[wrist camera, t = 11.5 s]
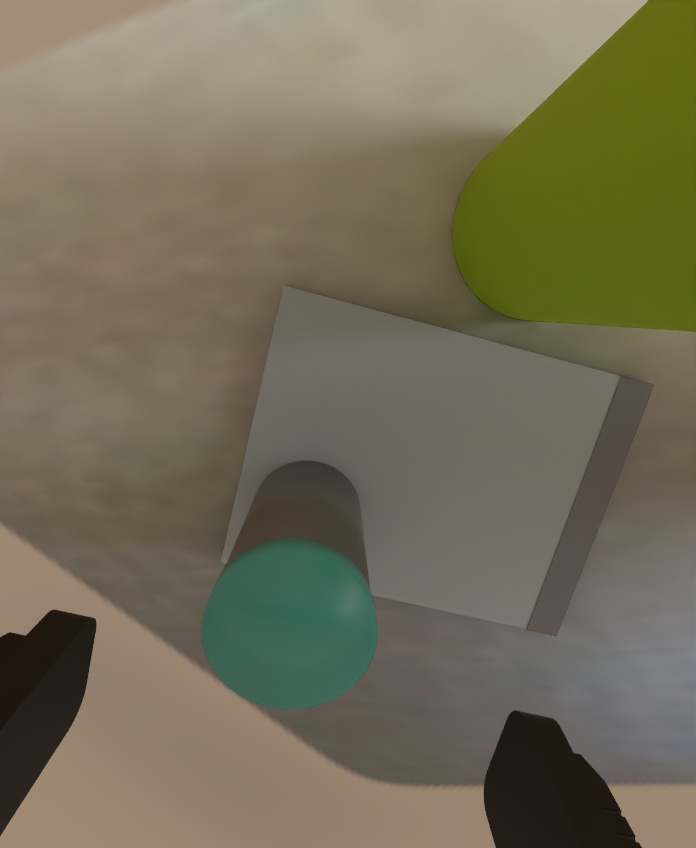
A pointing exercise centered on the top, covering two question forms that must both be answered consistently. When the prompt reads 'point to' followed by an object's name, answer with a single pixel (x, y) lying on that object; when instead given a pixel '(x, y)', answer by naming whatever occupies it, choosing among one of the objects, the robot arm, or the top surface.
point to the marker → (294, 593)
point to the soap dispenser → (596, 190)
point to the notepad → (445, 454)
